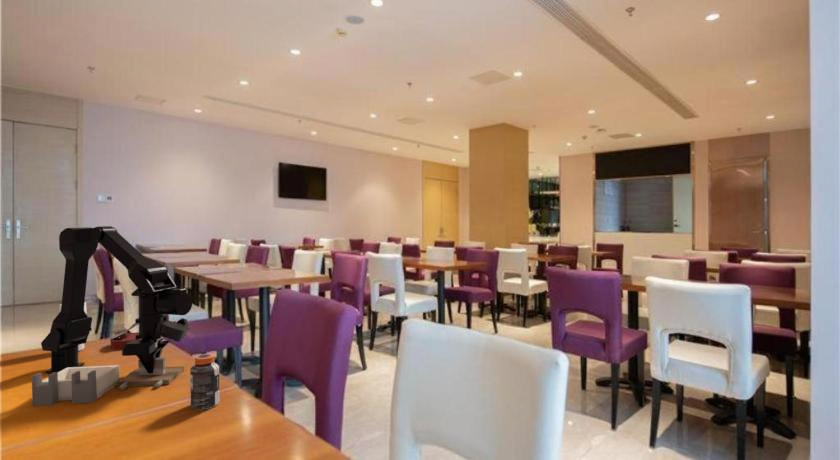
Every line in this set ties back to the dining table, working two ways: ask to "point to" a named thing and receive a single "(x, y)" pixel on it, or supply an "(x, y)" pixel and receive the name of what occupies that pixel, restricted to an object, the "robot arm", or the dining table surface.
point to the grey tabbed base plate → (151, 375)
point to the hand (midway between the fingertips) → (152, 371)
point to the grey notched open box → (74, 384)
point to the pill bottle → (204, 382)
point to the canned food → (123, 338)
